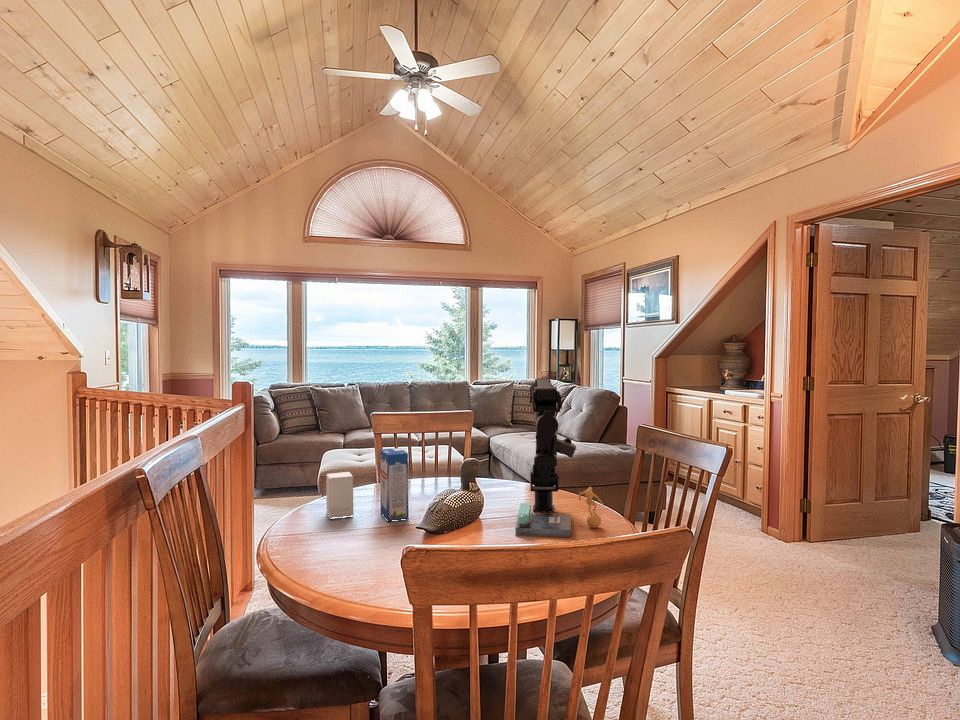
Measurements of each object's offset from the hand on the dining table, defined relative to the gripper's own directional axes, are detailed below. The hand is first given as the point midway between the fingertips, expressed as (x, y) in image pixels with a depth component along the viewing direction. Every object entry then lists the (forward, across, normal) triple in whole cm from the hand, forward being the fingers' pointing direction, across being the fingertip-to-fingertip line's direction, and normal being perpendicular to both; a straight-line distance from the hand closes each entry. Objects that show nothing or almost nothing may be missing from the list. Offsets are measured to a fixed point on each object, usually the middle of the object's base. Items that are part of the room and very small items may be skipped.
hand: (546, 484), depth 155 cm
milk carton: (+12, +3, +46) cm, 48 cm away
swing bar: (+9, -2, +6) cm, 11 cm away
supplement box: (+12, +2, +63) cm, 64 cm away
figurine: (+12, -1, -13) cm, 18 cm away
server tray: (+12, -2, +1) cm, 12 cm away
